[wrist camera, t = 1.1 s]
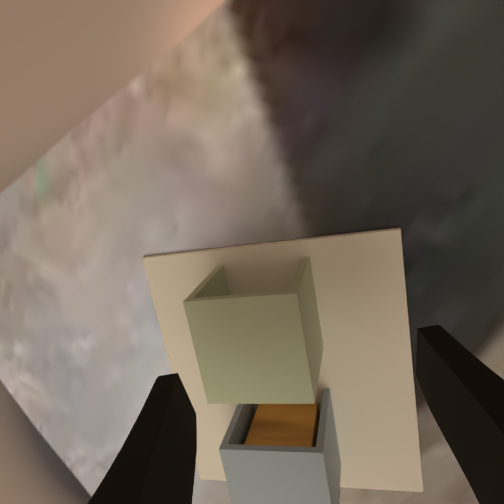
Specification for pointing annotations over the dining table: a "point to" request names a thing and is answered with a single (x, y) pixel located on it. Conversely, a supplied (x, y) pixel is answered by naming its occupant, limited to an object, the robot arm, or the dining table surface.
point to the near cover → (257, 341)
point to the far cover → (282, 464)
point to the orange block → (285, 425)
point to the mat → (334, 345)
